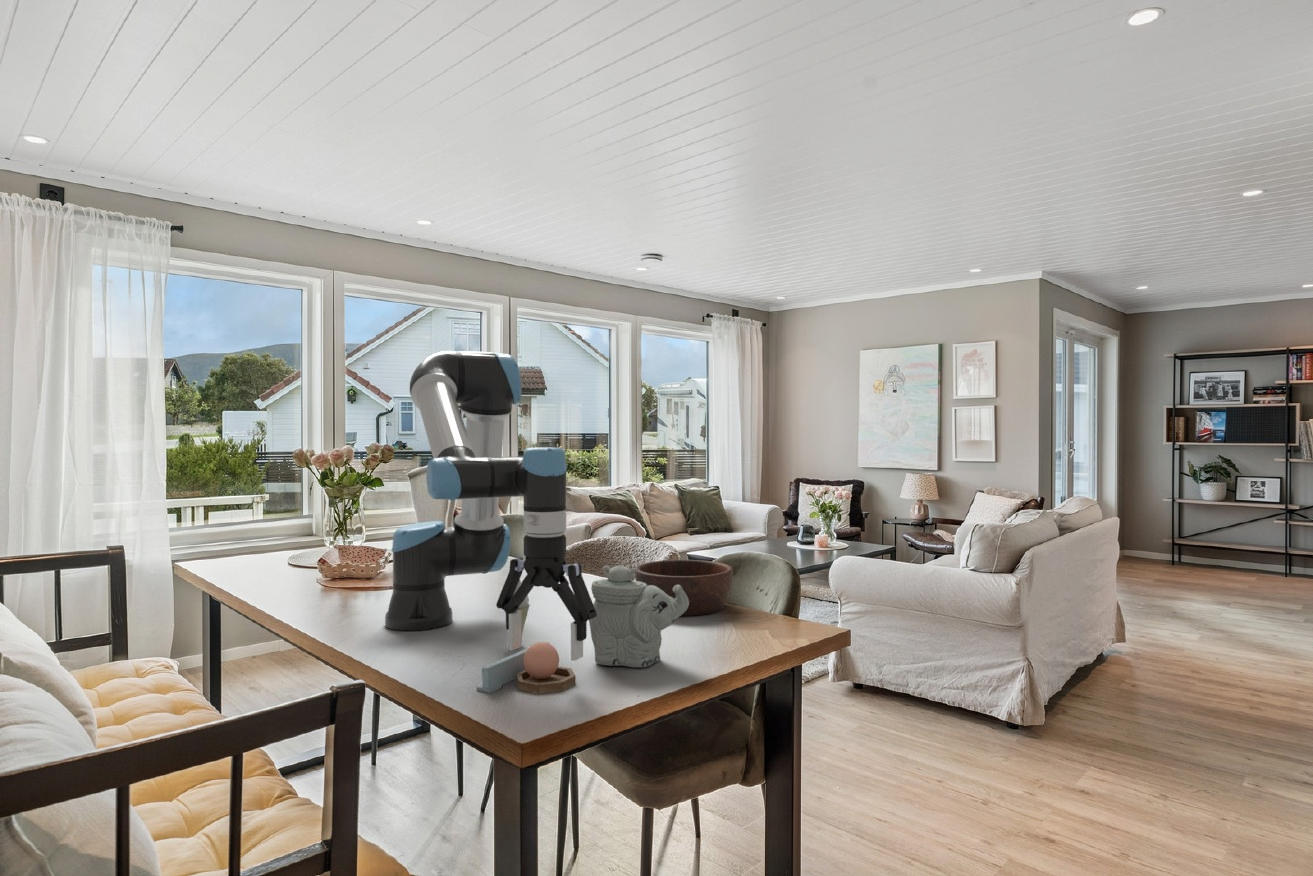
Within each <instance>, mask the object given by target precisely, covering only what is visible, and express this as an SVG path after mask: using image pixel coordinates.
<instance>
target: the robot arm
mask: <svg viewBox="0 0 1313 876" xmlns="http://www.w3.org/2000/svg"><path fill="white" fill-rule="evenodd" d="M522 390H523V389H522V379H521V372H520V368H519V366H518V362H517V360H516V358H515V357H513V356H512V355H511V354H509V353H502V352H496V351H468V350H467V351H463V350H462V351H458V350H456V351H455V350H443V351H438V352H436V353H433V354H431V355H429V356H428V357H426V358H425V359H423V360H422V361H421V362H420V364H418V365H417V366H416V368H415V369H414V371H413V372H412V375H411V378H410V381H409V395H410V397H411V398H410V399H411V401H412V403H413V405H414V406H415V407H416V408H417V409H418V410H419V412H420V415H421V416H420V417H421V419H422V422H423V426H424V430H425V434H426V437H427V440H428V445H429V447H430V451H431V455H432V458H431V459H429V461H428V462H427V466H426V485H427V486H426V490H427V494H428V495H429V497H430V498H432V499H433V500H449V501H455V500H461V508H460V509H461V511H460V512H459V513H458V514H456V516H455V517H454V520H453V521H454V522H453V526H446V525H445V523H444V522H443V521H441V520H432V521H423V522H418V523H417V522H416V523H413V524H408V525H405V526H401V527H400V528H398V529H396V530H395V531H394V533H393V536H392V547H391V552H392V593H391V597H390V601H389V605H388V609H387V611H386V613H385V617H384V622H385V623H384V626H385V628H388V629H390V630H395V631H422V630H424V631H425V630H430V629H431V630H432V629H436V628H440V627H444V626H447V625H449V624H451V623H452V622H453V610H452V608H451V607H450V602H449V598H448V595H447V592H446V589H445V588H446V587H445V584H446V583H445V580H446V579H445V578H446V577H450V576H459V575H476V574H477V575H478V574H484V575H485V574H488V573H493V572H498V571H501V570H502V569H503V568H504V567H505V565H506V564H507V562H508V560H509V556H510V552H511V551H510V550H511V532H510V527H509V526H508V525H507V523H504V521H505V520H504V518H503V517H502V516H501V515H500V514H499V502H500V498H515V497H523V532H524V533H525V535H524V537H523V556H524V557H525V559H524V558H523V557H517V558H513V559H510V561H509V571H508V574H507V576H506V579H505V582H504V584H503V586H502V589H501V591H500V593H499V596H498V598H497V602H496V605H495V606H496V608H497V609H502V610H503V611H504V613H505V628H506V631H508V650H509V651H514V650H516V649H519V648H522V636H521V611H516V610H518V609H520V608H519V606H520V605H521V603H522V602H523V601H524V599H525V598H526V596H527V595H528V596H529V593H530V592H531V591H532V589H533V588H534V587H538V588H539V587H544V588H548V589H552V590H553V592H556V593H557V595H558V596H559V598H560V599H561V601H562V603H563V605H564V606H565V608H566V609H567V611H568V613H569V614H570V616H571V617H572V619H573V620H574V621H572V622H570V661H574V662H576V661H577V660H580V659H582V658H583V657H584V641H585V640H587V639H586V638H587V636H588V635H587V628H588V627H587V626H588V625H587V622H588V621H589V620H590V619H592V618H594V617H596V616H597V613H596V610H595V608H594V605H593V604H594V602H593V600H592V598H591V596H590V592H589V590H588V587H587V585H586V583H585V580H584V578H583V573H582V565H581V563H579V562H577V563H573V564H567V563H566V560H565V559H566V555H567V536H566V535H565V534H564V533H565V532H566V531H567V469H568V466H567V461H566V458H567V457H566V451H565V450H564V449H563V448H561V447H554V446H553V447H551V446H550V447H549V446H548V447H547V446H544V447H543V446H539V447H536V446H535V447H527V448H525V450H524V451H523V455H517V456H503V440H504V429H505V427H504V426H505V419H506V418H508V416H509V415H511V414H512V409H513V405H517V404H519V403H520V401H521V397H522ZM458 404H460V408H459V405H458ZM461 412H462V413H463V414H464V415H465V417H466V424H465V422H464V419H463V417H462V414H461ZM523 571H525V573H526V575H525V577H524V578H523V580H522V581H521V577H522V574H523ZM565 575H566V576H567V577H568V579H567V578H566V576H565ZM519 580H520V581H521V583H522V584H521V586H520V587H519V588H518V590H517V591H516V593H515V594H514V592H515V589H516V587H517V585H518V582H519ZM513 594H514V595H513Z"/></svg>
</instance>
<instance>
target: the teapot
mask: <svg viewBox="0 0 1313 876" xmlns="http://www.w3.org/2000/svg"><path fill="white" fill-rule="evenodd" d="M635 568H636V567H632V568H629V567H628V566H624V565H622V564H619V565H617V566H612V567H610V566H609V565H604V566H603V567H602V570H601V571H602V573H603V575H604V576H605V577H606V578H604V579H598V580H593V581H592V583H591V587H590V588H591V594H592V596H593V597H592V598H594V599H595V600H594V602H593V605H594V608H595V610H596V613H597V616H596V617H594V618H592V619H590V620H588V622H589V624H588V625H589V629H590V636H591V640H592V644H593V647H594V662H595V663H596V664H598V665H602V666H608V667H609V666H611V667H613V666H616V667H617V666H625V667H629V668H646V667H650V666H651V665H652V664H654V663H658V662H659V661H660V660H661V654H660V649H661V645H662V639H663V638H662V631H663V630H664V629H666V628H668V627H670V626H672V625H673V624H674V623H675V622H676V620H677V619H678V618H680V617H682V616H681V615H682V614H683V613H684V612H685V611H686V610H687V608H688V606H689V599H688V597H687V595H686V593H685V592H684V591H683V589H682V587H681V586H680V585H675V586H674V587H673V592H674V593H675V594H676V598H675V599H674V598H672V597H670V596H669V595H667V594H666V593H665V592H663V591H662V590H661V589H660V588H658V587H656V586H653V585H649V586H648V585H646V583H644V582H639V581H636V580H633V576H634V575H635V571H636V569H635ZM607 571H608V572H607Z"/></svg>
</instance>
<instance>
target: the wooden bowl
mask: <svg viewBox="0 0 1313 876" xmlns="http://www.w3.org/2000/svg"><path fill="white" fill-rule="evenodd" d="M634 568H635V569H636V571H635V573H634V577H635V581H639V582H644V583H646V585H648V586H649V585H653V586H656V587H658V588H660V589H661V590H662V591H663V592H665V593H666V594H667V595H669V596H670V597H672V598H674V599H675V598H676V594H675V593H674V592H673V587H674V586H675V585H680V586H681V587H682V589H683V591H684V592H685V593H686V595H687V597H688V599H689V606H688V608H687V610H686V611H685V612H684V613H683V614H682V615H681V616H680V617H690V616H692V617H693V616H703V615H709V614H714V613H716V612H719V611H721V610H722V609H723V608H724V607H725V606H726V604H727V602H728V599H729V597H730V593H731V590H732V583H733V576H734V569H733V567H732V566H731V565H730V564H729V565H728V564H726V563H723V562H718V561H711V560H703V559H701V560H700V559H666V560H657V561H651V562H645V563H641V564H638V565H637V566H636V567H634Z"/></svg>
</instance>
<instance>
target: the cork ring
mask: <svg viewBox="0 0 1313 876" xmlns="http://www.w3.org/2000/svg"><path fill="white" fill-rule="evenodd" d="M576 679H577V678H576V674H575V672H574V671H573V669H572V668H571V667H569V668H568V667H564V666H559V665H558V668H557V670H556V671H555V673H554V674H553V675H551V676H550V677H548V678H545V679H536V678H533V677H531V676H530V675H529V674H528V673H527V672H526V670H524V671H521V672H519V673H517V674H516V679H515V684H516V686H517V688H518V690H519V691H523V692H529V693H534V694H546V693H555V692H562V691H565V690H567V689H569V688H570V687H573V686H574V685H576V682H577V681H576Z"/></svg>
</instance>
